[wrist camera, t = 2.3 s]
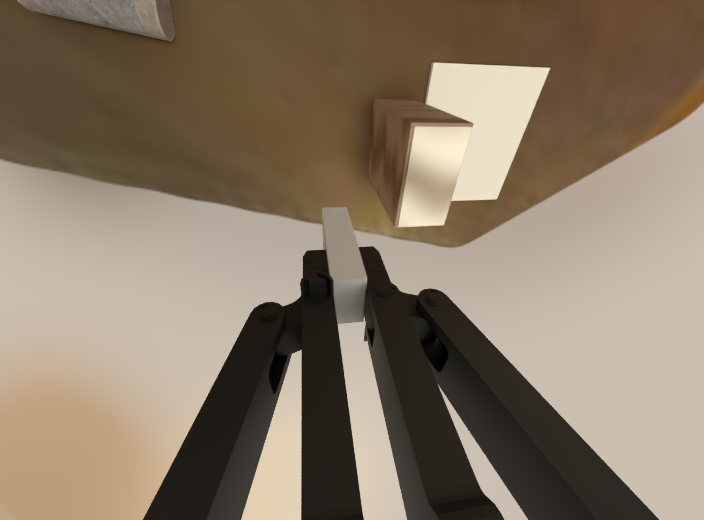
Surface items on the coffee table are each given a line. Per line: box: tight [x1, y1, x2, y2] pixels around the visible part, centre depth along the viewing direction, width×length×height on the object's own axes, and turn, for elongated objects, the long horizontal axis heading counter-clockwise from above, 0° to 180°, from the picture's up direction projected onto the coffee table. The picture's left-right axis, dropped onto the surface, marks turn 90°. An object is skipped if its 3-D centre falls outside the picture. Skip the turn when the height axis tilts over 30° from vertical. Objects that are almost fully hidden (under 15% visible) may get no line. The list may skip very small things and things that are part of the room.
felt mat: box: [424, 62, 550, 201], centre depth 34 cm, size 16×14×1 cm
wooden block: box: [368, 99, 474, 227], centre depth 27 cm, size 9×5×13 cm, turn 178°
